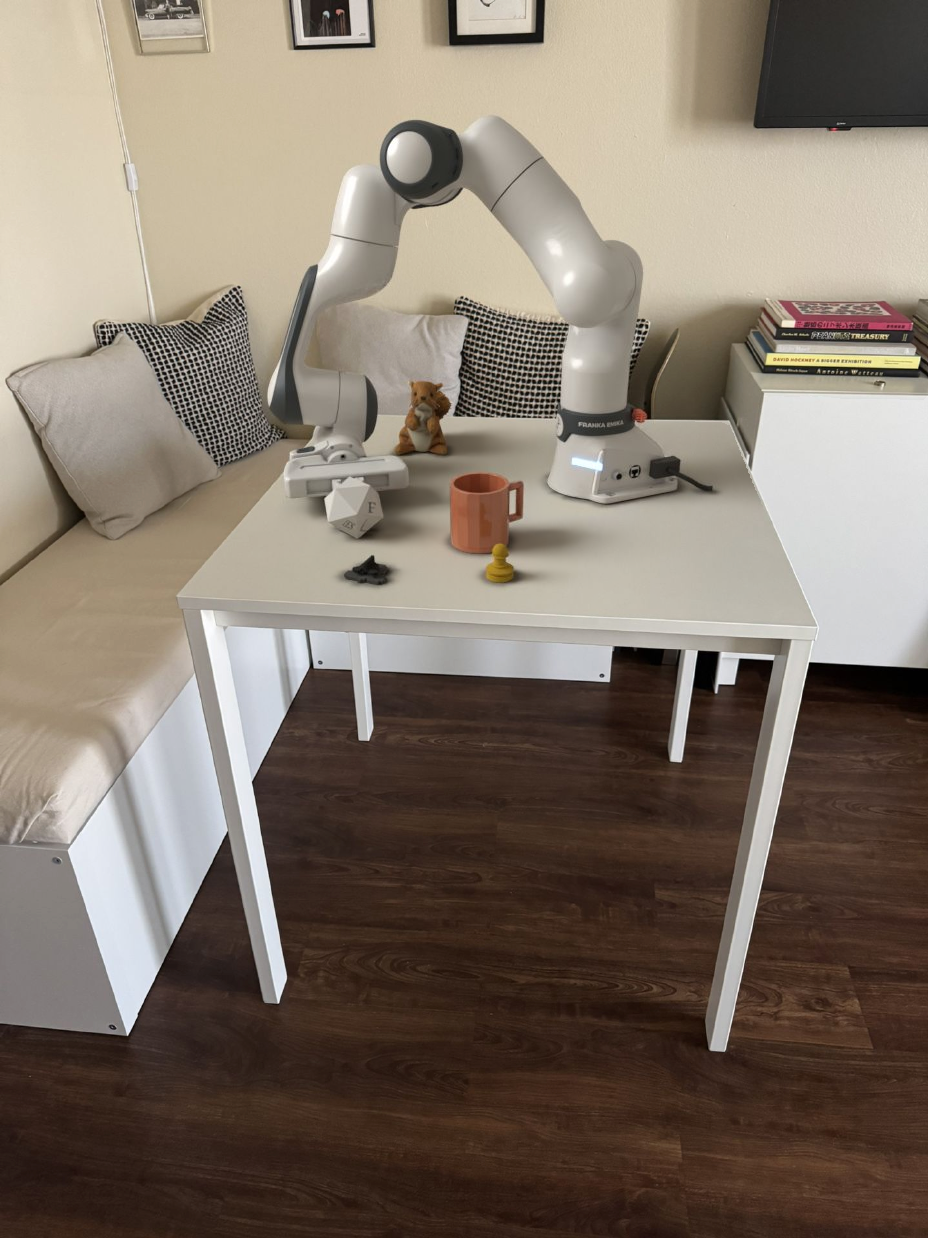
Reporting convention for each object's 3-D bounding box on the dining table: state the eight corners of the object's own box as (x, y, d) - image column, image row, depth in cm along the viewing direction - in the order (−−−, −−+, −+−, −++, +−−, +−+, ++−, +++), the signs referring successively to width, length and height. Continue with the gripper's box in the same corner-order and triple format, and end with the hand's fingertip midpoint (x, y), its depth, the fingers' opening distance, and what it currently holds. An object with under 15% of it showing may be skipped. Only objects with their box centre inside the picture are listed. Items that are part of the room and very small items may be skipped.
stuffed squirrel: (392, 456, 170) (389, 387, 164) (407, 432, 182) (404, 367, 176) (444, 458, 169) (443, 389, 162) (455, 434, 181) (454, 369, 174)
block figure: (395, 554, 128) (378, 571, 124) (396, 569, 130) (379, 586, 125) (358, 548, 130) (340, 564, 126) (359, 562, 132) (341, 579, 127)
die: (327, 549, 137) (360, 505, 132) (305, 505, 141) (336, 460, 135) (369, 551, 143) (403, 509, 138) (348, 509, 147) (379, 466, 141)
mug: (471, 558, 132) (471, 498, 128) (440, 537, 139) (438, 479, 134) (538, 538, 138) (540, 480, 133) (505, 519, 145) (506, 463, 140)
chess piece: (494, 567, 130) (494, 536, 127) (518, 573, 128) (519, 541, 126) (480, 578, 127) (480, 546, 124) (505, 584, 125) (505, 552, 123)
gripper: (403, 476, 156) (417, 507, 144) (284, 487, 152) (288, 519, 141) (401, 441, 153) (415, 470, 141) (280, 451, 149) (284, 481, 137)
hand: (351, 494), depth 141 cm, fingers closed, pressing on die
